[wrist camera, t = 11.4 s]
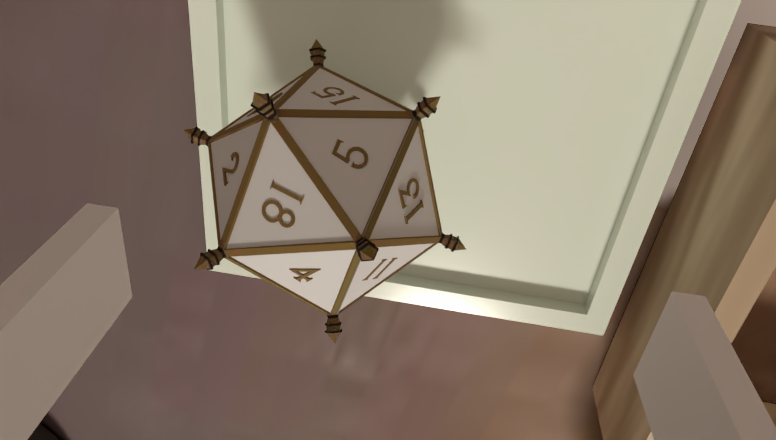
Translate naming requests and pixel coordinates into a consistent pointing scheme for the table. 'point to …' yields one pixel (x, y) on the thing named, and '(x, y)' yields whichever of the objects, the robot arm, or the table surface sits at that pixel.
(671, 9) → the tray
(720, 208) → the birch crate
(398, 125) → the game die
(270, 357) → the table surface
